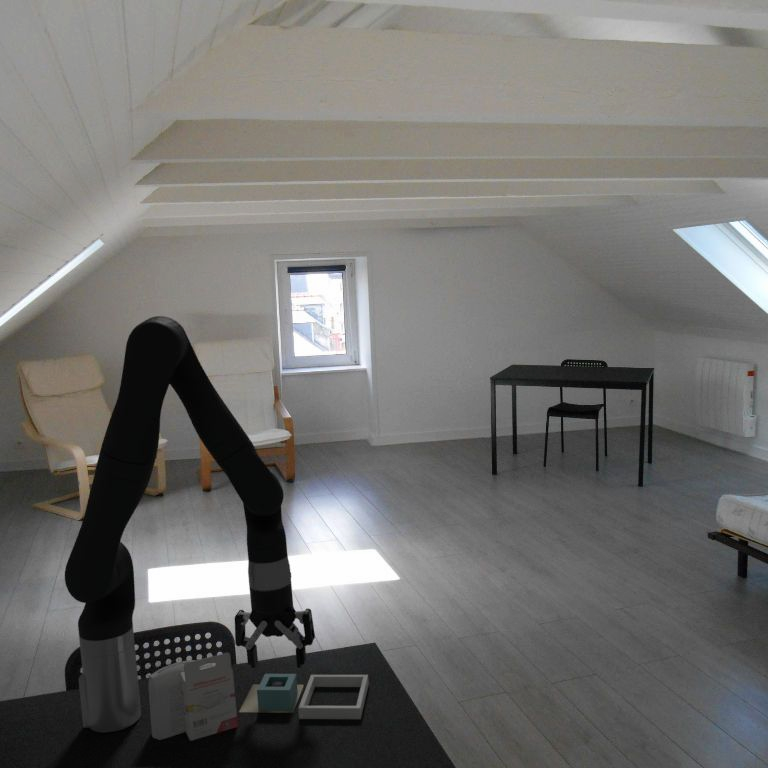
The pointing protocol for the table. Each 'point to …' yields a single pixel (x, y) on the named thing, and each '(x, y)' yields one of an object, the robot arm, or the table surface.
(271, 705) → the teal hollow block
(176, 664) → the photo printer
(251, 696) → the peg board
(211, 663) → the ink cartridge box
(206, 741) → the table surface
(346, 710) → the tray
